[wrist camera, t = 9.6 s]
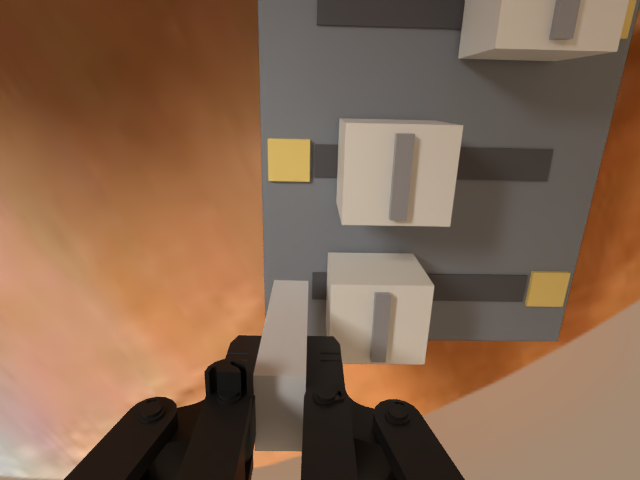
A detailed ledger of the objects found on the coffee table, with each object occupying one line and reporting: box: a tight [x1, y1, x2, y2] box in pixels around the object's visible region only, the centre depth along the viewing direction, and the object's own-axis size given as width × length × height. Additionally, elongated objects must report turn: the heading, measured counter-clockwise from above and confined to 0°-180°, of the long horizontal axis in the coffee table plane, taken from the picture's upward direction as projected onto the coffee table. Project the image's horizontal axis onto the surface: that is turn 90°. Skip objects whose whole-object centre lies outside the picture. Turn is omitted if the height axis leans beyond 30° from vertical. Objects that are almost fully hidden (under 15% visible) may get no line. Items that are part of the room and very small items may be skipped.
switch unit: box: [258, 0, 640, 341], centre depth 20 cm, size 15×18×5 cm
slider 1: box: [336, 118, 463, 227], centre depth 16 cm, size 4×4×4 cm
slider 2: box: [326, 252, 434, 364], centre depth 18 cm, size 4×4×4 cm
